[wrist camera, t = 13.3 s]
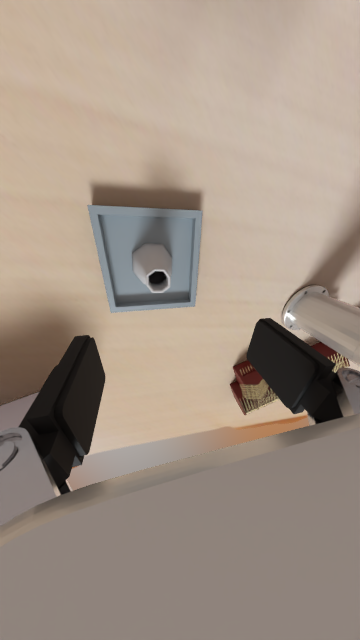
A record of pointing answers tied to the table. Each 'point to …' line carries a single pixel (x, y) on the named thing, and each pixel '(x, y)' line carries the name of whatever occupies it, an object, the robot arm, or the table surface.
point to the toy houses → (257, 392)
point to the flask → (153, 266)
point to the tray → (130, 234)
